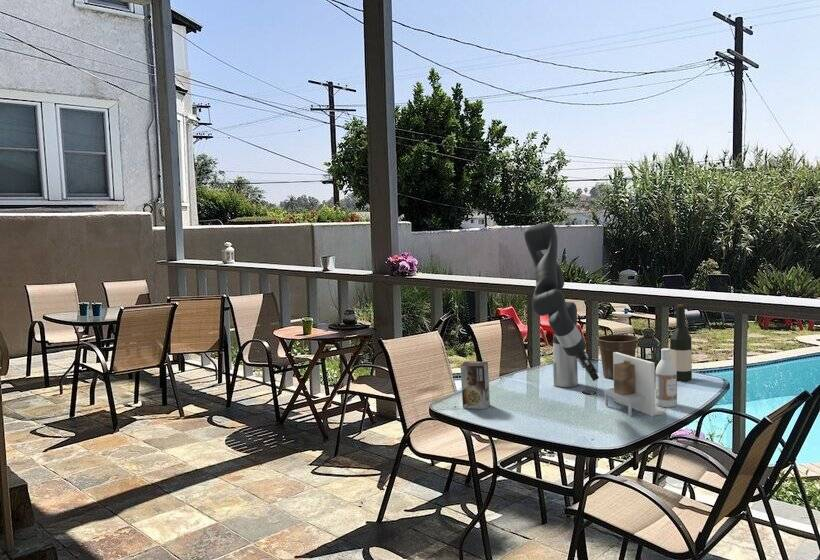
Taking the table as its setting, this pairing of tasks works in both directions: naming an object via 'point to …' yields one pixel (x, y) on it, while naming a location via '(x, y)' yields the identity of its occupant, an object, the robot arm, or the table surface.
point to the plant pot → (615, 350)
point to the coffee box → (475, 385)
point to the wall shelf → (637, 386)
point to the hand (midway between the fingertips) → (590, 372)
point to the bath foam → (666, 381)
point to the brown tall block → (624, 378)
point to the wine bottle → (681, 347)
